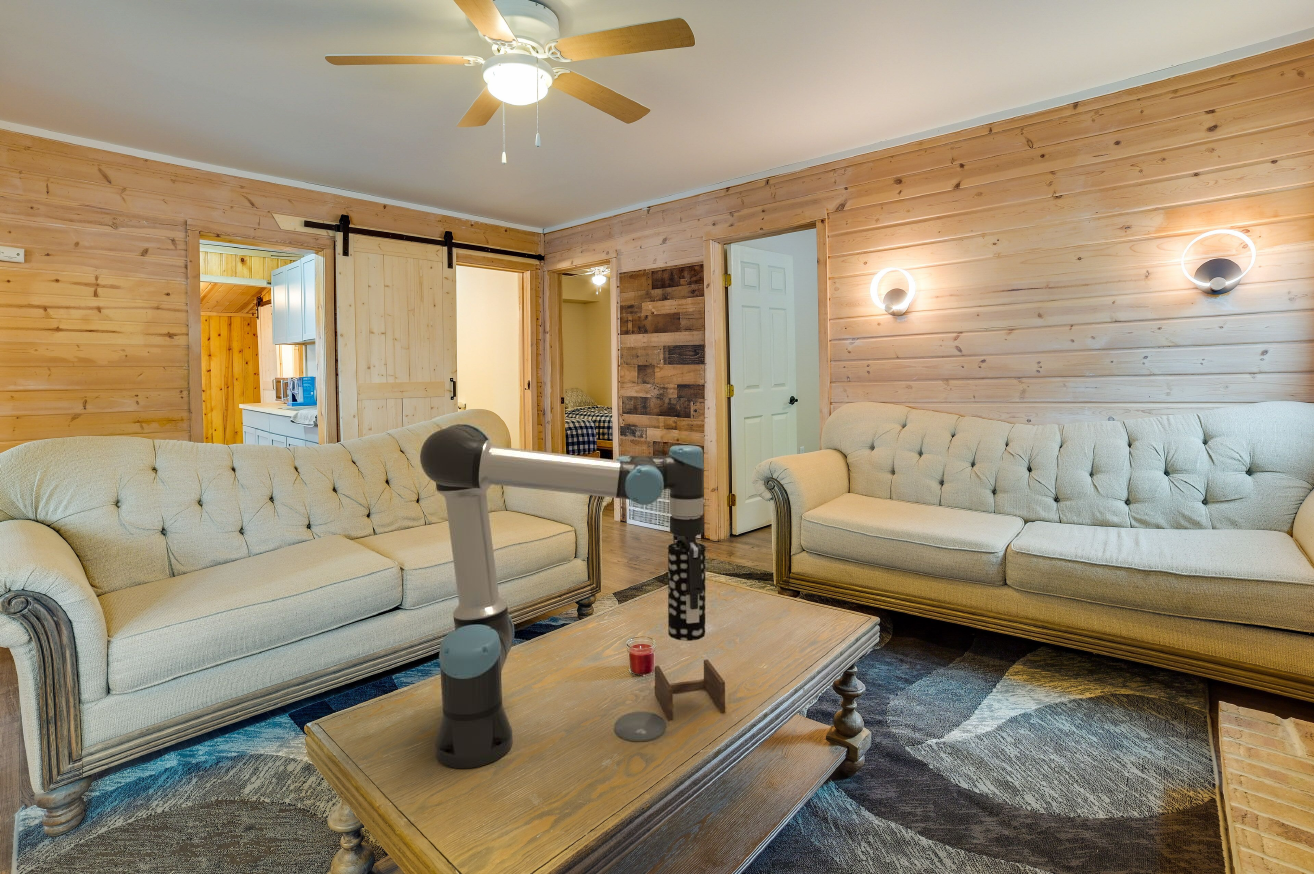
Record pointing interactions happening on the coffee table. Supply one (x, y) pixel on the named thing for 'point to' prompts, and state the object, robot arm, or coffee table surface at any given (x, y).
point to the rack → (690, 688)
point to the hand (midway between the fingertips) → (686, 614)
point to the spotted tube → (683, 595)
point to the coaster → (640, 726)
